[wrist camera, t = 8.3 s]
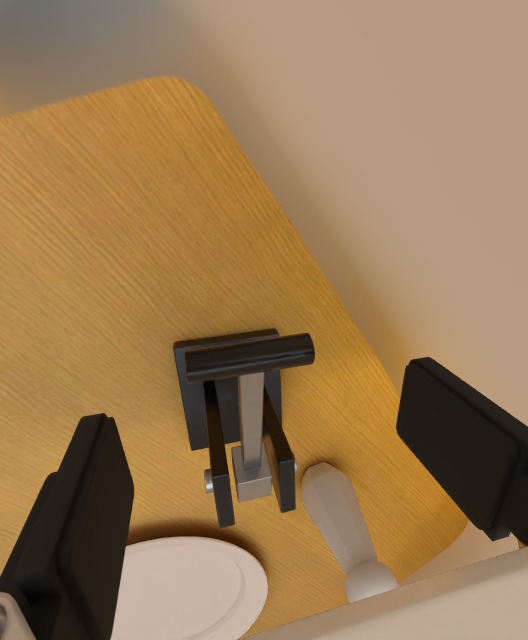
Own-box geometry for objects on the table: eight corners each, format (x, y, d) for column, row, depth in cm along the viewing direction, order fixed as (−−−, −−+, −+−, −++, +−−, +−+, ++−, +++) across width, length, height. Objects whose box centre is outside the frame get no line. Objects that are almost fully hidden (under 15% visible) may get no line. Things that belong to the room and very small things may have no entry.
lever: (183, 335, 14) (185, 377, 12) (302, 319, 15) (321, 356, 13) (209, 472, 22) (213, 509, 21) (284, 455, 23) (294, 489, 22)
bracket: (173, 342, 27) (165, 439, 17) (275, 328, 29) (327, 408, 18) (191, 442, 31) (193, 571, 21) (279, 424, 33) (323, 535, 22)
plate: (302, 548, 42) (308, 564, 40) (195, 666, 46) (196, 686, 44) (113, 494, 32) (109, 512, 30) (0, 651, 36) (-9, 675, 34)
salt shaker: (343, 452, 37) (418, 574, 25) (340, 488, 39) (407, 616, 27) (295, 461, 36) (349, 595, 24) (294, 498, 38) (343, 637, 26)
